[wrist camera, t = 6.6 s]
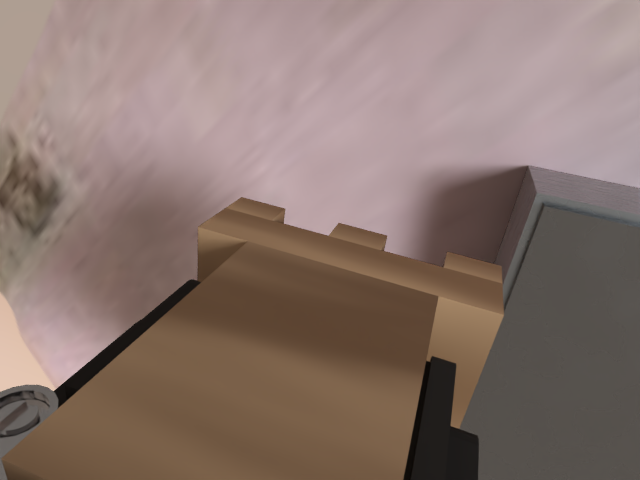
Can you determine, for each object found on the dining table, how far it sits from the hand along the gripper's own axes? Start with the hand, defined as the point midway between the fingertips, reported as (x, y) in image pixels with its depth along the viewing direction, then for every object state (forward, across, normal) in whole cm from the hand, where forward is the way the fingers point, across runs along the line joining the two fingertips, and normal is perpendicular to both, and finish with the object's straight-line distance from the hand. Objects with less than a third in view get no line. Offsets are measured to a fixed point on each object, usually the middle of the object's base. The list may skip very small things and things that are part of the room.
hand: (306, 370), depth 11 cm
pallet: (+4, 0, +6) cm, 7 cm away
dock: (+17, -12, +7) cm, 22 cm away
